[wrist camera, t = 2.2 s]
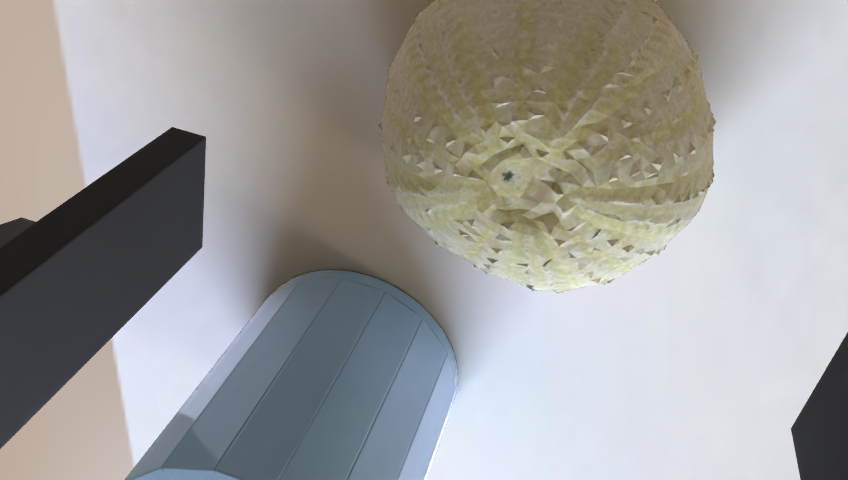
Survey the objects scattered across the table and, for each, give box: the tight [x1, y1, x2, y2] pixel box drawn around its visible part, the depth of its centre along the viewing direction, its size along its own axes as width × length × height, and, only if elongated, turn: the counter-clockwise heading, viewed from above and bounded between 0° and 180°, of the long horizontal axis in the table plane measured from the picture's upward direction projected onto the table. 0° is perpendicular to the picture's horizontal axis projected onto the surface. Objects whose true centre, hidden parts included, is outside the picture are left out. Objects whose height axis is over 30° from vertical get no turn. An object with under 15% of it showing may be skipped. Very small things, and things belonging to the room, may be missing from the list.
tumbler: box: [125, 270, 458, 480], centre depth 27 cm, size 8×8×10 cm
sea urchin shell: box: [379, 0, 716, 293], centre depth 22 cm, size 9×8×8 cm
